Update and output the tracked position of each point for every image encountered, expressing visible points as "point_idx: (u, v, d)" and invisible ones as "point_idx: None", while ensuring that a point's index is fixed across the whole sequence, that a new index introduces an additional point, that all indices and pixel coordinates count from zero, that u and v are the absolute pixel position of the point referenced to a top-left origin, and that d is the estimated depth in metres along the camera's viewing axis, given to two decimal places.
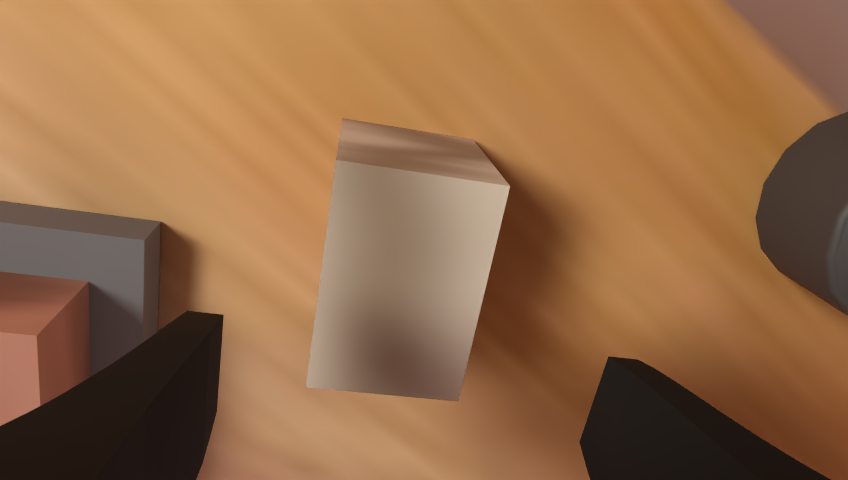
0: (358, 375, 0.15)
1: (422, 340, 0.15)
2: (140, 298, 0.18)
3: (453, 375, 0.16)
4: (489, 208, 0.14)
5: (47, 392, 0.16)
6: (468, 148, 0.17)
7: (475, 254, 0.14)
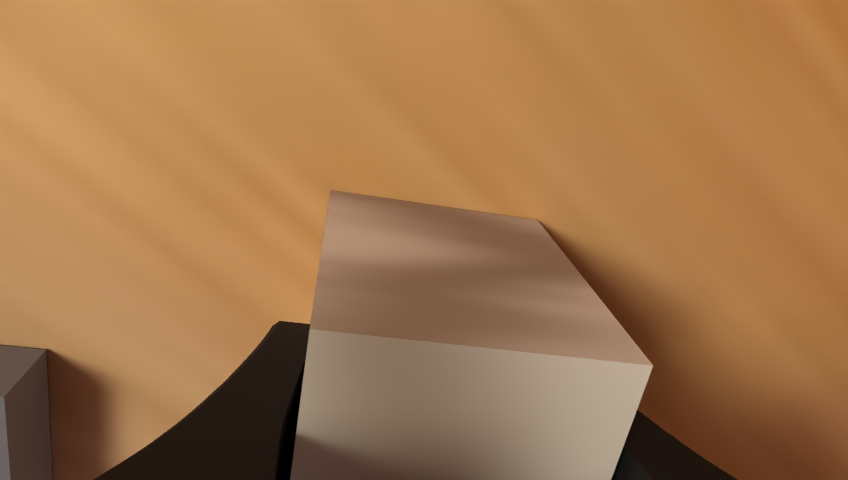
0: None
1: None
2: None
3: None
4: (609, 405, 0.07)
5: None
6: (539, 247, 0.10)
7: None
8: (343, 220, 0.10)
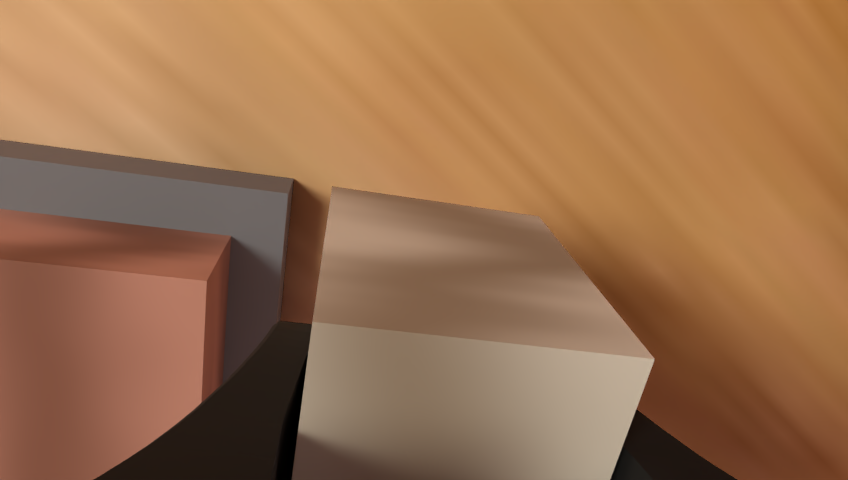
0: None
1: None
2: (279, 253, 0.18)
3: None
4: (611, 398, 0.07)
5: (207, 340, 0.16)
6: (541, 243, 0.10)
7: (578, 474, 0.08)
8: (345, 215, 0.10)
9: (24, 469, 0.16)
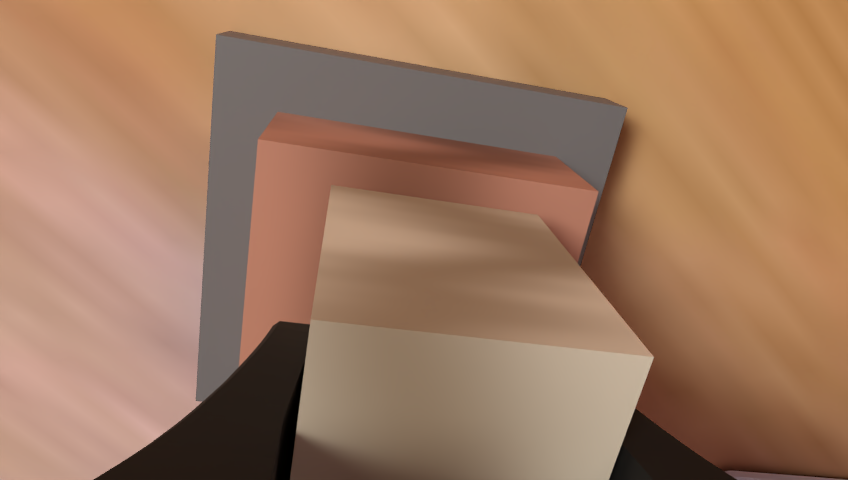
0: None
1: None
2: (603, 178, 0.16)
3: None
4: (610, 396, 0.07)
5: None
6: (540, 241, 0.10)
7: (578, 473, 0.08)
8: (344, 214, 0.10)
9: None
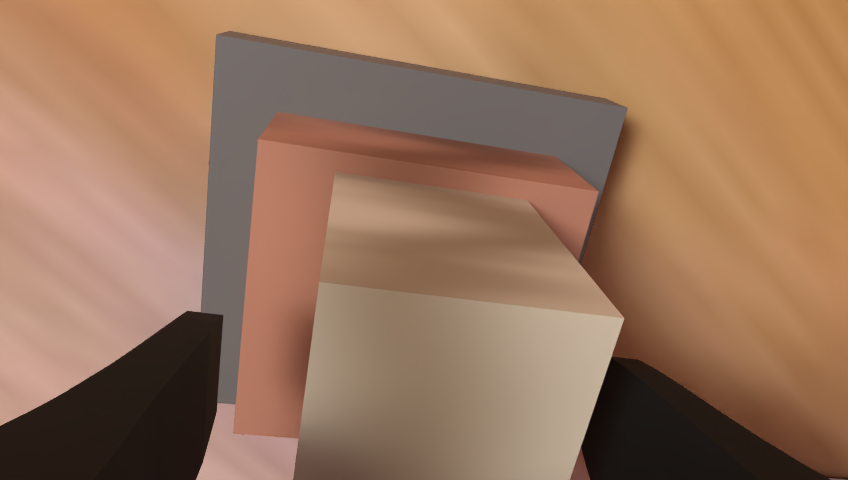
0: None
1: None
2: (603, 178, 0.16)
3: None
4: (586, 353, 0.08)
5: None
6: (528, 222, 0.11)
7: (558, 425, 0.09)
8: (347, 197, 0.11)
9: None
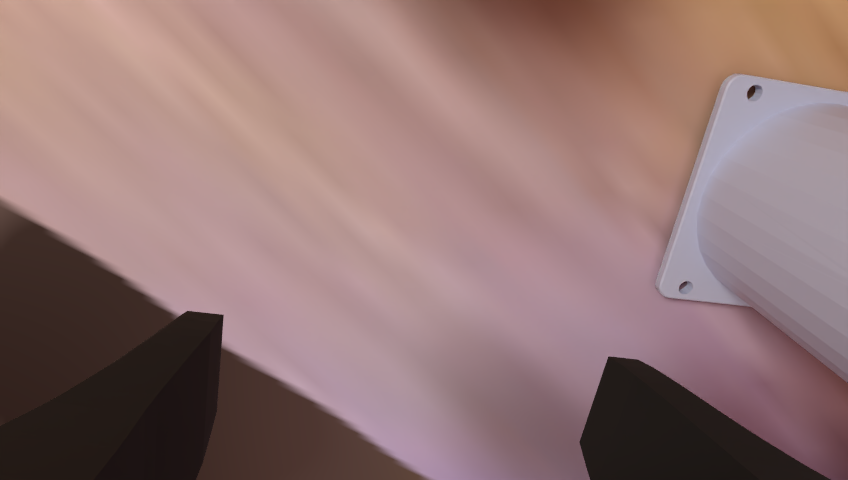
0: None
1: None
2: None
3: None
4: None
5: None
6: None
7: None
8: None
9: None
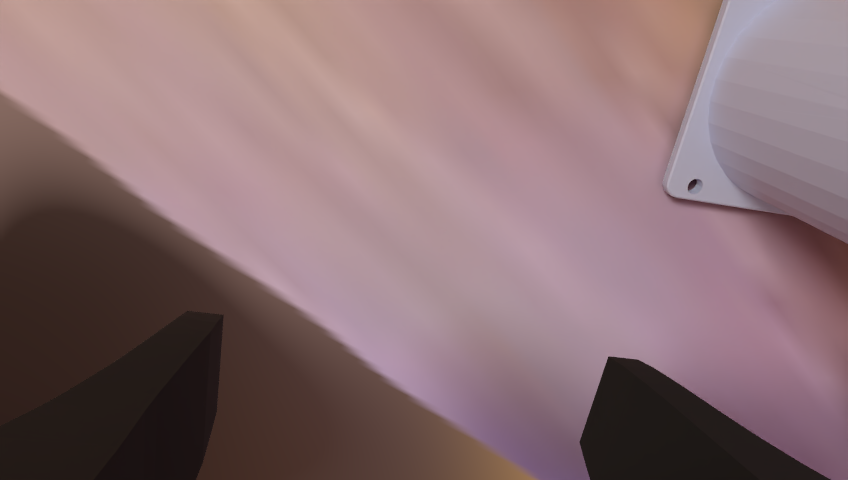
0: None
1: None
2: None
3: None
4: None
5: None
6: None
7: None
8: None
9: None
